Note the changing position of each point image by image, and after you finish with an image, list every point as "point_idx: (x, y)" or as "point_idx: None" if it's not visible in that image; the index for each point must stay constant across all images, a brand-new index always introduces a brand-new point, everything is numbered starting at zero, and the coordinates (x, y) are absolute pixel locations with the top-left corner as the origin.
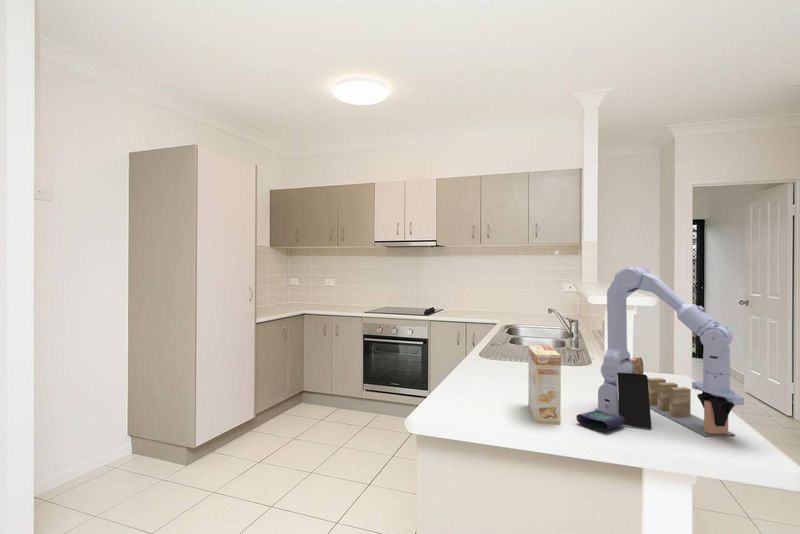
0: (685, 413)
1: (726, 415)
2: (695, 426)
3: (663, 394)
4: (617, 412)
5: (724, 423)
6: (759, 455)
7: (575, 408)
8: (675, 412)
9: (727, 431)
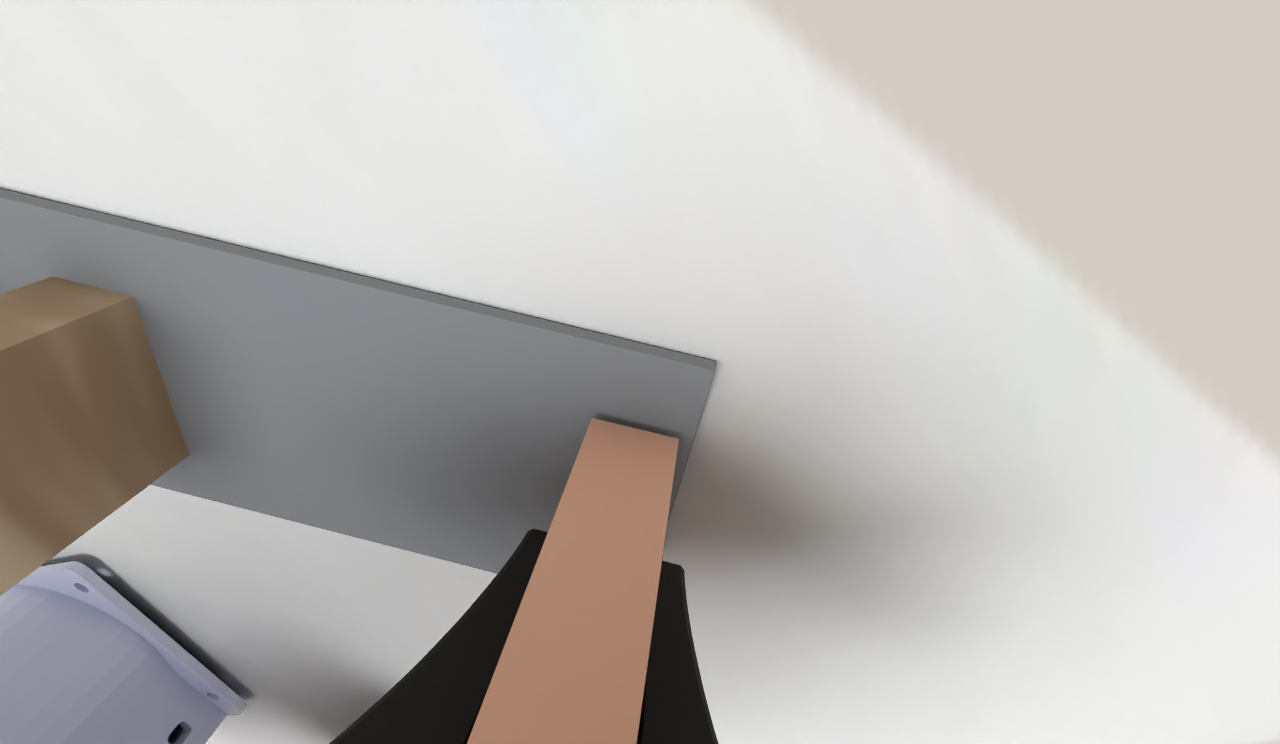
0: (113, 370)
1: (691, 715)
2: (438, 503)
3: None
4: (211, 726)
5: (684, 605)
6: (1101, 600)
7: None
8: (141, 477)
9: (674, 457)
